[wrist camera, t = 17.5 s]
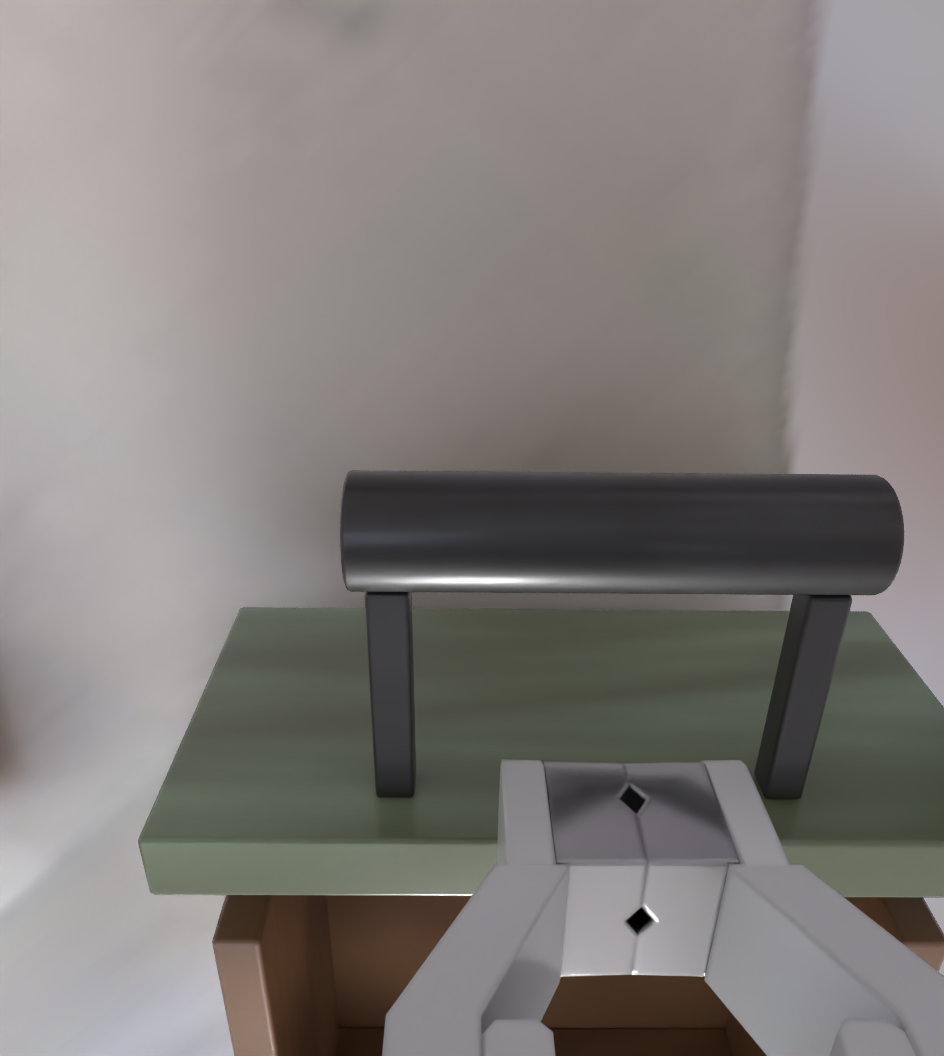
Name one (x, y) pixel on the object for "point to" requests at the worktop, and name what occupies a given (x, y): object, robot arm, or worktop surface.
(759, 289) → the worktop surface
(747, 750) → the drawer
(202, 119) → the worktop surface
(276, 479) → the worktop surface
